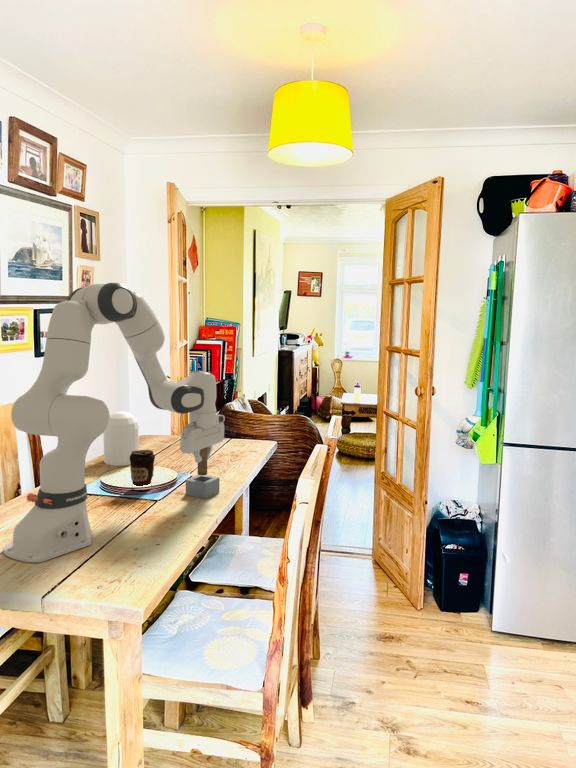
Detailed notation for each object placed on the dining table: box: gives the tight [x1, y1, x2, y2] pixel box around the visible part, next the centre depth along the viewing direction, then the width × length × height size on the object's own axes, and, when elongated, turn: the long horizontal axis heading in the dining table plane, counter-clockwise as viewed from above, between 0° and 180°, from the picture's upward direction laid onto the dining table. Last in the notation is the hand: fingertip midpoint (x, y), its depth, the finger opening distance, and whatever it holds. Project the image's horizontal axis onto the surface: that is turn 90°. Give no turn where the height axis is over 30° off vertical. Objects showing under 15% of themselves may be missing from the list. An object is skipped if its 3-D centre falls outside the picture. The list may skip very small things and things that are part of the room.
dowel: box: [197, 447, 208, 475], centre depth 193 cm, size 3×3×12 cm
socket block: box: [185, 474, 220, 499], centre depth 195 cm, size 8×8×5 cm
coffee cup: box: [130, 449, 156, 486], centre depth 197 cm, size 9×8×13 cm
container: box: [102, 410, 140, 467], centre depth 229 cm, size 14×13×20 cm
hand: (202, 460), depth 193 cm, fingers closed on dowel, 3 cm apart
